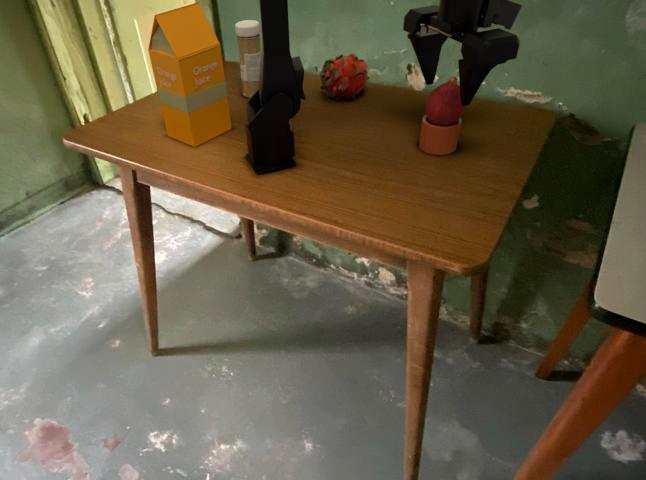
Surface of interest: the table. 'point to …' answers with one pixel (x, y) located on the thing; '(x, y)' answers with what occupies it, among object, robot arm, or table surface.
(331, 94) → the dragon fruit
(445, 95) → the onion
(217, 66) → the orange juice
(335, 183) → the table surface
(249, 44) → the sprinkles bottle
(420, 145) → the cup
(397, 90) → the table surface
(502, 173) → the table surface
